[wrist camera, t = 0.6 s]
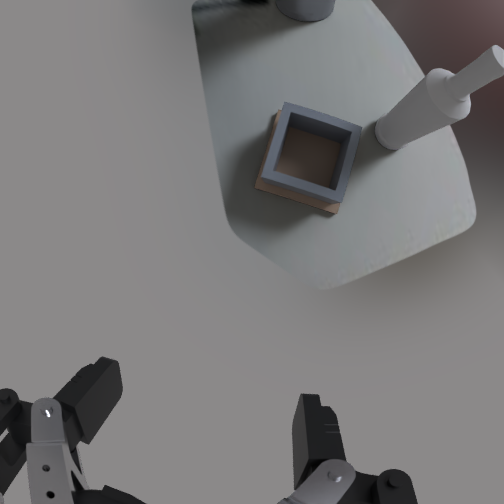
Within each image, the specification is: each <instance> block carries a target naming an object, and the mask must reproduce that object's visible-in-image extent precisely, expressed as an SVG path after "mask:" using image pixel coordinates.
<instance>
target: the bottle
mask: <svg viewBox="0 0 504 504" xmlns="http://www.w3.org/2000/svg"><path fill="white" fill-rule="evenodd" d="M503 75H504V50H503V49H502V48H500V47H499V46H497V45H494V46H493V47H491V48H490V49H489V50H487V51H486V52H484V53H483V54H482V55H481V56H480V57H479V58H477V59H476V60H475V61H473V62H472V63H471V64H469V65H468V66H467V67H465V68H464V69H463V70H461V71H460V72H458V73H457V74H452V73H451V72H450V71H447V70H444V69H441V68H439V69H433V70H432V71H430V72H429V73H428V74H427V75H426V76H425V77H424V78H423V79H422V80H421V81H420V82H419V83H418V84H417V85H416V86H415V87H414V88H413V89H412V90H411V91H410V92H409V93H408V94H407V95H406V96H405V97H404V98H403V99H402V100H401V101H400V102H399V103H398V104H397V105H396V106H395V107H394V108H393V109H392V110H391V111H390V112H389V113H387V114H384V115H383V116H382V117H380V118H379V120H378V121H377V123H376V126H375V135H376V137H377V139H378V141H379V142H380V143H381V145H382V146H384V147H386V148H388V149H392V150H398V149H401V148H404V147H406V146H407V144H408V143H409V142H412V141H414V140H416V139H418V138H420V137H423V136H425V135H427V134H429V133H431V132H434V131H436V130H438V129H440V128H443V127H445V126H447V125H449V124H451V123H454V122H456V121H458V120H461V119H463V118H465V117H466V116H467V115H468V113H469V112H470V106H471V102H470V98H469V97H470V93H472V92H474V91H476V90H477V89H479V88H481V87H482V86H484V85H486V84H487V83H489V82H491V81H492V80H494V79H497V78H499V77H501V76H503Z"/></svg>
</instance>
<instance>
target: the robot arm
mask: <svg viewBox="0 0 504 504" xmlns="http://www.w3.org/2000/svg"><path fill="white" fill-rule="evenodd" d="M334 4H335V0H276V5H277V7H278V9H279V10H280V11H281V12H282V13H284V14H285V15H286V16H288V17H291V18H293V19H296V20H301V21H318V20H322V19H324V18H326V17H328V16H329V15H330V14H331V13H332V11H333V8H334ZM122 391H123V386H122V381H121V374H120V367H119V363H118V361H116V360H112V359H109V358H106V357H101V358H99V359H98V361H97V362H96V363H95V364H94V365H93V364H89V365H87V366H85V367H83V368H81V369H80V370H79V371H78V372H77V373H76V376H74V377H73V378H72V379H71V381H69V382H68V383H67V384H66V385H65V386H64V387H63V388H62V389H61V390H60V391H59V392H58V393H57V394H56V395H55V396H54V397H53V398H41V399H38V400H37V401H35V402H34V403H29V402H25V401H21V400H19V398H18V395H17V393H16V392H15V391H13V390H12V389H8V388H5V389H1V390H0V435H1V434H2V433H3V432H4V430H5V429H6V428H7V430H8V432H9V433H8V434H7V435H6V436H5V438H4V439H3V440H2V441H1V442H0V504H4V499H3V495H4V494H5V492H6V491H7V489H8V487H9V486H10V484H11V482H12V481H13V480H14V478H15V477H16V475H17V474H18V472H19V471H20V469H21V468H22V466H23V465H24V463H25V462H26V460H27V469H28V479H29V488H30V495H31V502H32V504H146V503H144V502H142V501H141V500H139V499H137V498H135V497H134V496H132V495H130V494H127V493H125V492H122V491H119V490H117V489H114V488H112V487H109V486H107V485H105V486H104V488H103V490H90V489H89V487H88V485H87V482H86V479H85V476H84V472H83V467H82V463H81V459H80V455H79V450H78V446H77V444H78V443H79V441H82V442H84V443H86V444H90V442H91V440H92V439H93V438H94V436H95V435H96V433H97V432H98V430H99V429H100V427H101V426H102V424H103V423H104V421H105V420H106V418H107V417H108V415H109V414H110V413H111V411H112V409H113V408H114V407H115V405H116V404H117V402H118V401H119V399H120V398H121V395H122ZM292 439H293V467H294V490H296V491H295V492H293V493H292V494H291V495H290V496H289V497H288V498H284V499H282V500H281V501H280V502H278V503H277V504H418V503H417V499H416V495H415V492H414V488H413V485H412V481H411V479H410V477H409V476H408V474H406V473H405V472H403V471H401V470H397V469H390V470H386V471H384V472H382V473H381V474H380V475H379V476H375V475H368V474H364V473H360V472H357V471H355V470H354V468H353V466H352V465H351V464H349V463H348V462H347V461H346V457H345V453H344V448H343V443H342V439H341V434H340V430H339V426H338V420H337V416H336V414H335V413H334V411H333V410H332V409H331V408H330V407H328V406H321V403H320V397H319V395H318V394H301V395H300V398H299V401H298V405H297V409H296V412H295V415H294V419H293V425H292Z"/></svg>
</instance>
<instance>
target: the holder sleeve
mask: <svg viewBox="0 0 504 504" xmlns="http://www.w3.org/2000/svg"><path fill="white" fill-rule="evenodd" d="M361 131H362V127H360V126H358V125H355V124H352V123H350V122H347V121H344V120H341V119H339V118H336V117H333V116H330V115H327V114H324V113H321V112H318V111H315V110H311V109H308V108H305V107H301V106H298V105H294V104H291V103H287V102H284V105H283V108H282V110H278V113H277V116H276V119H275V122H274V125H273V129H272V132H271V135H270V138H269V141H268V144H267V148H266V151H265V154H264V157H263V160H262V164H261V167H260V170H259V173H258V176H257V180H256V183H255V186H254V188H256V189H259V190H262V191H266V192H269V193H272V194H276V195H279V196H282V197H285V198H288V199H292V200H295V201H298V202H301V203H304V204H307V205H310V206H313V207H316V208H319V209H322V210H325V211H328V212H331V213H334V214H337V212H338V209H339V206H340V203H342V201H343V197H344V194H345V190H346V187H347V183H348V180H349V176H350V173H351V169H352V165H353V162H354V158H355V154H356V150H357V146H358V143H359V139H360V135H361Z"/></svg>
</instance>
